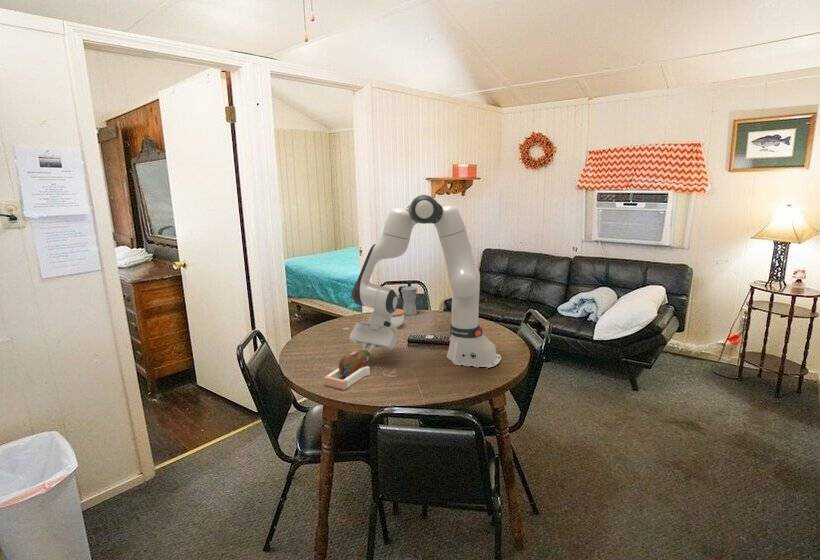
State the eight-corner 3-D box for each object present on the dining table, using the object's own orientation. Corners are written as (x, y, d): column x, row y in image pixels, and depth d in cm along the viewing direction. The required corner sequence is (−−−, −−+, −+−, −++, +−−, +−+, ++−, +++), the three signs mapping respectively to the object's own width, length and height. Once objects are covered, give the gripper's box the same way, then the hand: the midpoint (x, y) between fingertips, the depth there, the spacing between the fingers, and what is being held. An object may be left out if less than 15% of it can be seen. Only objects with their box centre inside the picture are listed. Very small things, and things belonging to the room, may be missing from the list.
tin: (343, 380, 163) (342, 359, 161) (337, 378, 165) (336, 357, 163) (371, 367, 175) (370, 347, 173) (365, 365, 177) (365, 345, 175)
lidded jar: (380, 324, 227) (380, 307, 224) (399, 321, 231) (399, 304, 229) (388, 330, 217) (388, 312, 215) (408, 327, 221) (408, 309, 219)
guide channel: (371, 374, 169) (370, 366, 168) (347, 390, 155) (347, 383, 155) (345, 368, 174) (345, 361, 173) (321, 384, 161) (320, 376, 160)
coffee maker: (423, 314, 244) (423, 282, 240) (411, 317, 238) (411, 285, 234) (404, 308, 254) (404, 278, 250) (393, 311, 248) (392, 280, 244)
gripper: (354, 317, 184) (341, 347, 178) (396, 324, 175) (384, 356, 169) (360, 324, 189) (348, 353, 183) (402, 331, 180) (390, 362, 174)
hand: (365, 355), depth 176 cm, fingers closed
